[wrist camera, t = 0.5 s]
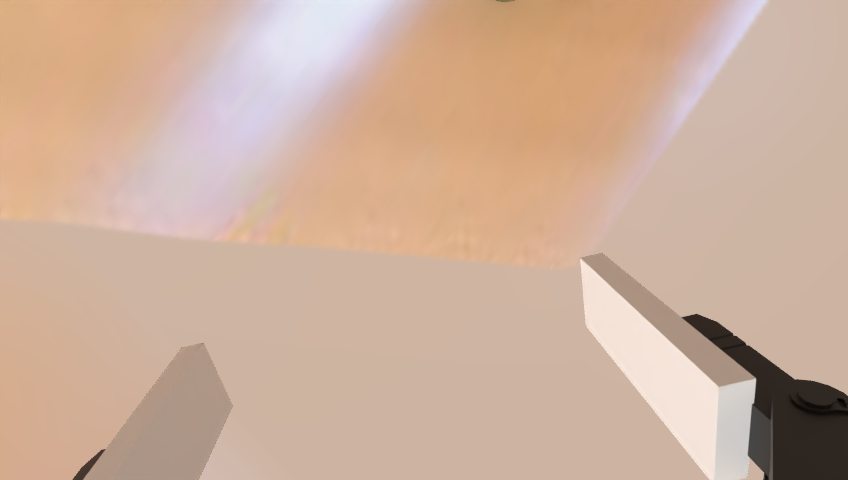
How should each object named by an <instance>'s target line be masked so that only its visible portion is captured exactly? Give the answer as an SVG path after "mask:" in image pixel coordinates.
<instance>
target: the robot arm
mask: <svg viewBox="0 0 848 480" xmlns="http://www.w3.org/2000/svg"><path fill="white" fill-rule="evenodd" d="M580 260H581V272H582V284H583V296H584V309H585V320H586V326H587V328H588V329H589V330H590V331H591V333H592V334H593V335H594V336H595V338H596V339H597V340H598V341H599V343H600V344H601V345H602V346H603V348H604V349H605V350H606V351H607V352H608V354H609V355H610V356H611V358H612V359H613V360H614V361H615V363H616V364H617V365H618V366H619V367H620V369H621V370H622V371H623V373H624V374H625V375H626V376H627V378H628V379H629V380H630V381H631V382H632V384H633V385H634V386H635V387H636V389H637V390H638V391H639V392H640V394H641V395H642V396H643V397H644V399H645V400H646V401H647V402H648V403H649V405H650V406H651V407H652V408H653V410H654V411H655V412H656V414H657V415H658V416H659V417H660V419H661V420H662V421H663V422H664V423H665V425H666V426H667V427H668V428H669V429H670V431H671V432H672V433H673V435H674V436H675V437H676V438H677V440H678V441H679V442H680V443H681V445H682V446H683V447H684V448H685V450H686V451H687V452H688V453H689V455H690V456H691V457H692V458H693V460H694V461H695V462H696V463H697V464H698V466H699V467H700V468H701V469H702V471H703V472H704V473H705V474H706V476H707V477H708V478H709V479H710V480H738V479H742V478H747V477H748V466H749V457H750V458H751V459H752V460H753V461H754V462H755V464H756V465H757V466H758V467H759V468H760V469H761V470H762V471H763V472H764V479H763V480H848V396H847V395H846V394H845V393H843V392H841V391H839V390H837V389H835V388H833V387H831V386H829V385H825V384H822V383H818V382H815V381H808V380H795V379H793V378H792V377H791V376H789V375H788V374H787V373H785V372H784V371H783V370H781V369H780V368H779V367H777V366H776V365H775V364H773V363H772V362H770V361H769V360H768V359H766V358H765V357H764V356H762V355H761V354H760V353H758V352H757V351H756V350H754V349H753V348H752V347H750V346H747V345H746V343H745V342H743V341H742V340H741V339H739V338H738V337H737V336H733V333H731V332H730V331H729V330H727V329H726V328H725V327H723V326H722V325H720V324H719V323H718V322H716V321H713V320H711V319H708V318H706V317H703V316H701V315H698V314H694V315H690V316H686V317H680V316H679V315H678V314H676V313H675V312H674V311H673V310H672V309H670V308H669V307H668V306H667V305H665V304H664V303H663V302H662V301H661V300H659V299H658V298H657V297H656V296H654V295H653V294H652V293H651V292H649V291H648V290H647V289H646V288H645V287H643V286H642V285H641V284H639V283H638V282H637V281H636V280H635V279H634V278H632V277H631V276H630V275H629V274H627V273H626V272H625V271H624V270H622V269H621V268H620V267H619V266H617V265H616V264H615V263H614V262H613V261H611V260H610V259H609V258H608V257H606V256H605V255H604V254H603V253H600V254H595V255H591V256H586V257H582V258H580ZM232 406H233V405H232V403H231V401H230V399H229V396H228V394H227V392H226V390H225V388H224V386H223V383H222V381H221V379H220V377H219V375H218V373H217V371H216V368H215V366H214V364H213V362H212V360H211V358H210V356H209V354H208V351H207V349H206V347H205V345H204V343H201V344H196V345H192V346H187V347H183V348H181V349H180V351H179V352H178V353H177V355H176V356H175V357H174V359H173V360H172V361H171V363H170V364H169V365H168V367H167V368H166V369H165V371H164V372H163V373H162V375H161V376H160V377H159V379H158V380H157V381H156V383H155V384H154V385H153V387H152V388H151V389H150V391H149V392H148V394H147V395H146V396H145V397H144V399H143V400H142V402H141V403H140V404H139V405H138V407H137V408H136V410H135V411H134V412H133V414H132V415H131V416H130V417H129V419H128V420H127V421H126V423H125V424H124V426H123V427H122V428H121V429H120V431H119V432H118V434H117V435H116V436H115V438H114V439H113V440H112V442H111V443H110V444H109V446H108V447H107V448H106V449H104V450H101V451H100V452H99V453H98V454H97V455H95V456H94V457H93V458H92V459H91V460H90V461H89V462H87V463H86V464H85V465H84V466H83V467H82V468H81V469H80V471H79V472H78V473H77V475H76V476H75V477H74V479H73V480H199V478H200V476H201V474H202V472H203V470H204V467H205V465H206V463H207V461H208V459H209V456H210V454H211V452H212V450H213V448H214V446H215V443H216V441H217V439H218V437H219V435H220V433H221V430H222V428H223V426H224V424H225V422H226V420H227V417H228V415H229V413H230V411H231V409H232Z"/></svg>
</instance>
